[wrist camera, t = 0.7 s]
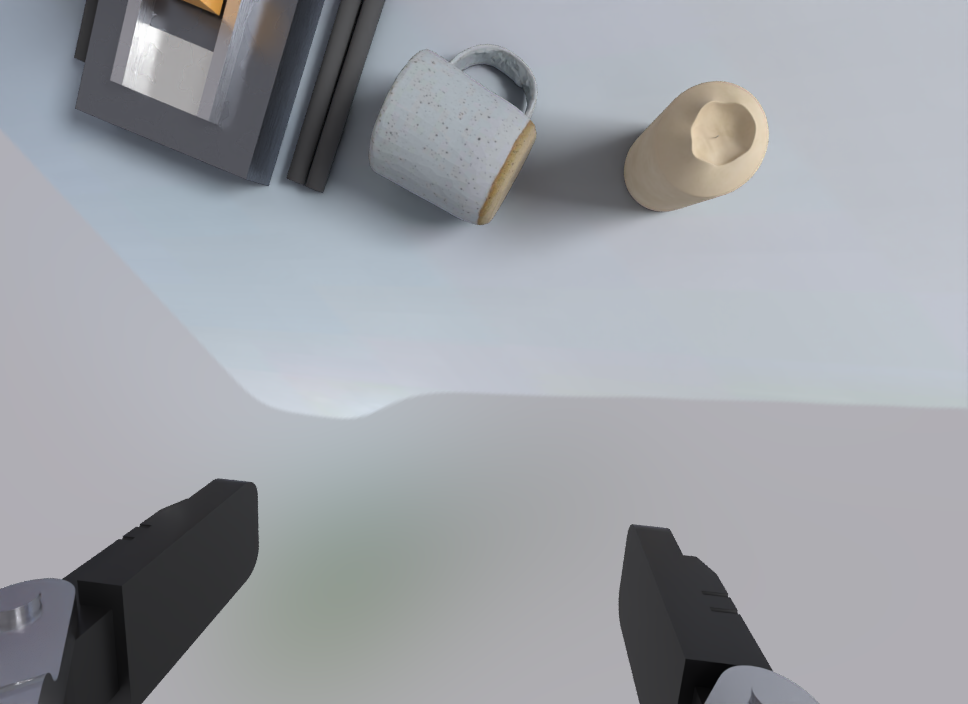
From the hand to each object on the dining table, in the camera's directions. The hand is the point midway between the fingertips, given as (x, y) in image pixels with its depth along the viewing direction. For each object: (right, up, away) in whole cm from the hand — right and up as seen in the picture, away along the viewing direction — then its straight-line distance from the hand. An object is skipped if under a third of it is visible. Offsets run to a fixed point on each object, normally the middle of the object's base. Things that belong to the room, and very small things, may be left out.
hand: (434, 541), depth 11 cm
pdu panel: (-16, +27, +23) cm, 39 cm away
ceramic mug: (0, +19, +24) cm, 30 cm away
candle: (+13, +16, +23) cm, 31 cm away
